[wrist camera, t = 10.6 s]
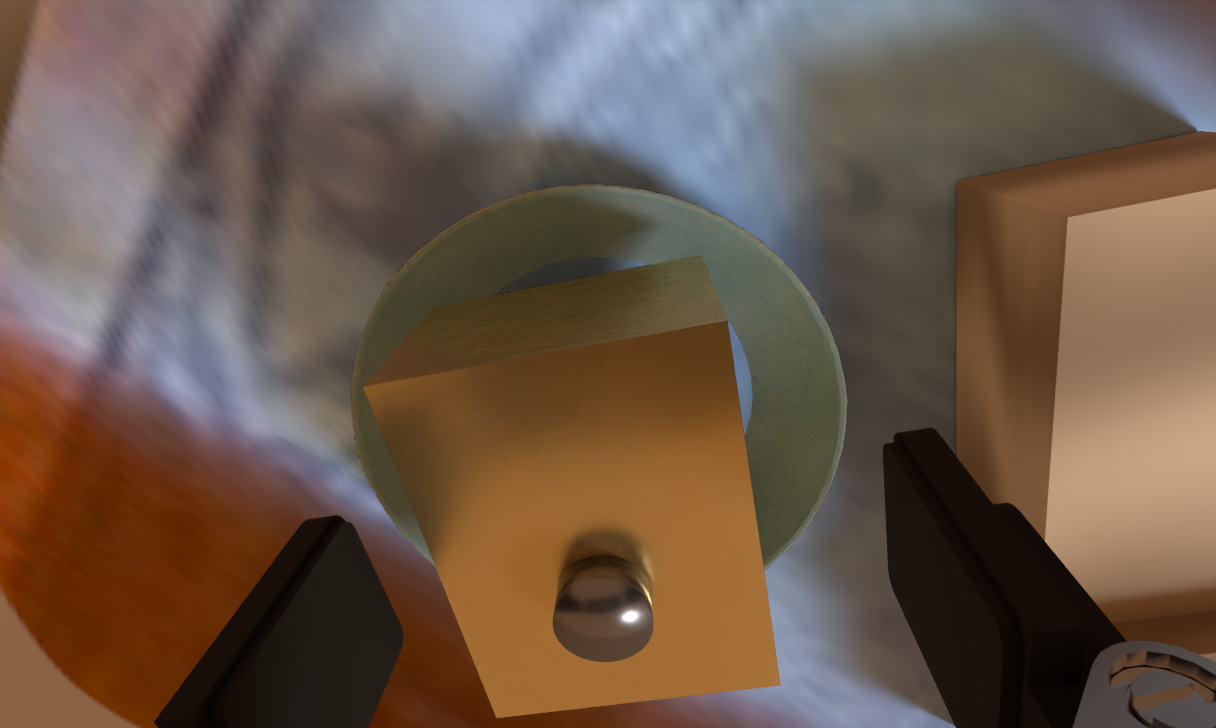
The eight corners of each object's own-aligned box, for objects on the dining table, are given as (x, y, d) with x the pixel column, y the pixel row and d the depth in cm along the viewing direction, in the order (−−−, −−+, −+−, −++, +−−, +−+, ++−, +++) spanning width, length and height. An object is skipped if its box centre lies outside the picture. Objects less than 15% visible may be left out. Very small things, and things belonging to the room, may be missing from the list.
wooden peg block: (956, 181, 14) (1218, 266, 8) (1200, 131, 14) (1695, 180, 7) (955, 726, 21) (1093, 1003, 15) (1116, 709, 21) (1330, 989, 14)
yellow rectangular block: (432, 307, 14) (342, 409, 10) (702, 254, 14) (735, 340, 9) (525, 583, 17) (488, 754, 13) (748, 551, 17) (789, 721, 12)
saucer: (424, 104, 15) (389, 109, 13) (902, 255, 16) (944, 283, 14) (356, 510, 19) (323, 563, 17) (727, 605, 20) (738, 665, 18)
